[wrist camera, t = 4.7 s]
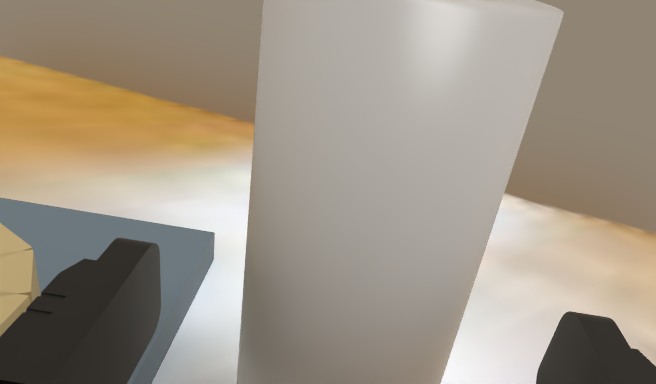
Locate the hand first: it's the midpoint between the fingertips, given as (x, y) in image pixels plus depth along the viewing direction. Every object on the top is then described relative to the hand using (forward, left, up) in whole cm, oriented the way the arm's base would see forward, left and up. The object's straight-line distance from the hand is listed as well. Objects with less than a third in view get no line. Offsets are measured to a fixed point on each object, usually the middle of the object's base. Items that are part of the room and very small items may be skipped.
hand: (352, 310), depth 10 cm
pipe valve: (0, -2, -8) cm, 8 cm away
